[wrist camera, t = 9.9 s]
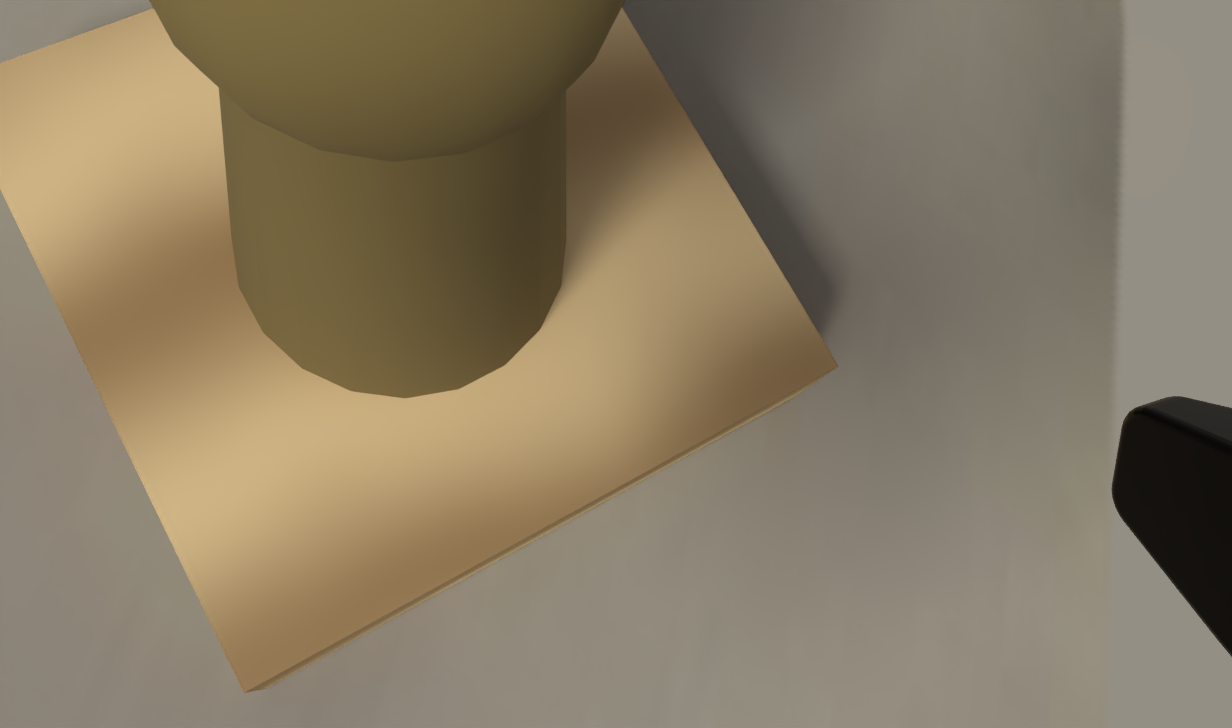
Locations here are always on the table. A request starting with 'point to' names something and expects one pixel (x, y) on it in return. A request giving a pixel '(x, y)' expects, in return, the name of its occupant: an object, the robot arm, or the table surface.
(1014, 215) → the table surface
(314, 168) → the cork
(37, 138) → the oak board
